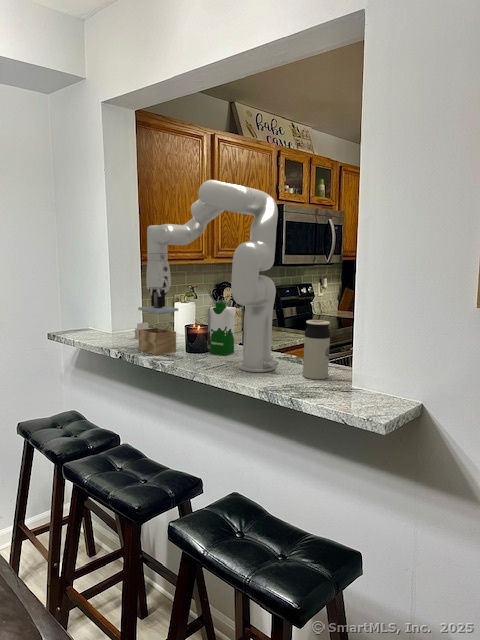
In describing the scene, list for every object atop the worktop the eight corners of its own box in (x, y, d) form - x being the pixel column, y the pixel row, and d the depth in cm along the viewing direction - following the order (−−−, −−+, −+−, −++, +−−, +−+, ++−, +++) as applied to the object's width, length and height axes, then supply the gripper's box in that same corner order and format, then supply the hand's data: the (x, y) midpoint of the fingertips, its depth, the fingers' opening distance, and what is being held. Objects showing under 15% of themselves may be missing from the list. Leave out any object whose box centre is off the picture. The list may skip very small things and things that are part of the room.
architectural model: (133, 339, 211) (133, 322, 210) (146, 337, 216) (146, 321, 215) (137, 340, 208) (137, 323, 207) (150, 338, 213) (150, 322, 212)
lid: (178, 313, 181) (178, 292, 180) (158, 315, 175) (157, 293, 174) (158, 310, 190) (158, 290, 189) (138, 312, 183) (138, 292, 182)
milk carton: (206, 353, 182) (207, 302, 179) (217, 349, 190) (218, 300, 187) (227, 356, 178) (228, 303, 175) (237, 352, 186) (238, 301, 183)
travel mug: (298, 376, 152) (300, 321, 149) (311, 372, 158) (313, 319, 155) (319, 381, 146) (322, 324, 144) (332, 376, 152) (335, 321, 150)
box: (175, 351, 184) (176, 331, 183) (157, 355, 177) (157, 334, 176) (157, 347, 192) (157, 327, 191) (138, 350, 186) (138, 329, 184)
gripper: (179, 258, 177) (179, 307, 179) (152, 258, 188) (153, 304, 190) (162, 258, 171) (163, 308, 174) (136, 258, 182) (137, 305, 185)
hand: (158, 305), depth 182 cm, fingers closed on lid, 3 cm apart
